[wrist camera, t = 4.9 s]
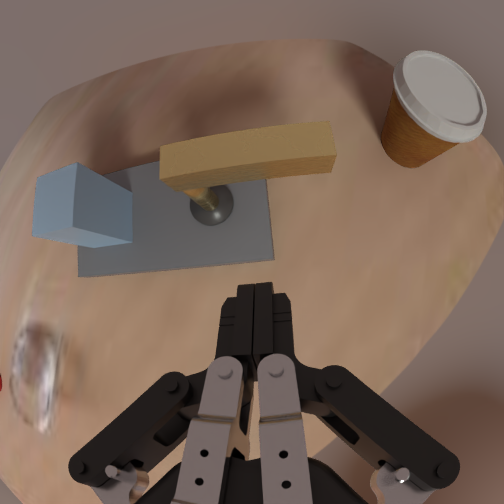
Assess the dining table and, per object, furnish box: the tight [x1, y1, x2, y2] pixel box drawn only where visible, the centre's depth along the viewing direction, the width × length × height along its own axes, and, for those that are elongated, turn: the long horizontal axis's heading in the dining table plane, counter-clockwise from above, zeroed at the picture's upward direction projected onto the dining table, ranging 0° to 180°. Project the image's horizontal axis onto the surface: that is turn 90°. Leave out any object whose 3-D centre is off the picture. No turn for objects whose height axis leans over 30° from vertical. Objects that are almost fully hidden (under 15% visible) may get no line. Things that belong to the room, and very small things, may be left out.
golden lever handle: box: [159, 121, 337, 211], centre depth 22 cm, size 11×2×11 cm, turn 95°
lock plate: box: [78, 161, 275, 277], centre depth 29 cm, size 23×12×4 cm, turn 96°
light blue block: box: [32, 162, 133, 248], centre depth 25 cm, size 6×6×10 cm
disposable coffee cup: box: [381, 51, 487, 168], centre depth 23 cm, size 10×10×12 cm
